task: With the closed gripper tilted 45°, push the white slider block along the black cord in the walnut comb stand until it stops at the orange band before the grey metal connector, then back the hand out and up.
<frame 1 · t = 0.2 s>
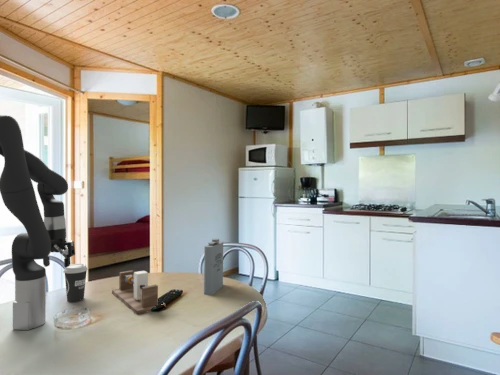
hand: (57, 266, 132), 18 cm above the table, tool pointing down, fingers open, 8 cm apart
cord stand: (137, 299, 144), on the table
white slider block: (140, 285, 141), point 8 cm above the table, slide at 0.0 cm
flask: (214, 289, 160), on the table
coffee cup: (75, 300, 144), on the table
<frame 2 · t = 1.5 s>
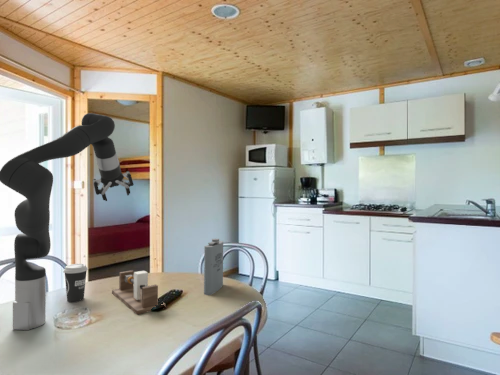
hand: (117, 197, 133), 46 cm above the table, tool tilted 40°, fingers open, 8 cm apart
nothing on the table moved.
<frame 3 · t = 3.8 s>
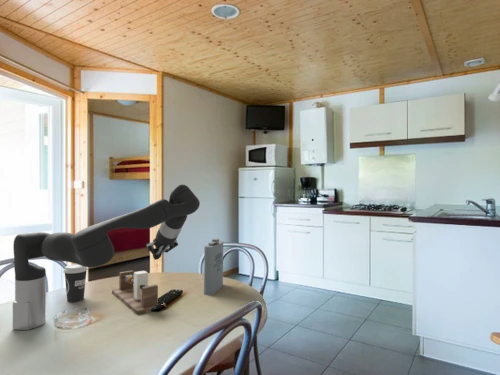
hand: (155, 257, 130), 22 cm above the table, tool tilted 45°, fingers closed
nothing on the table moved.
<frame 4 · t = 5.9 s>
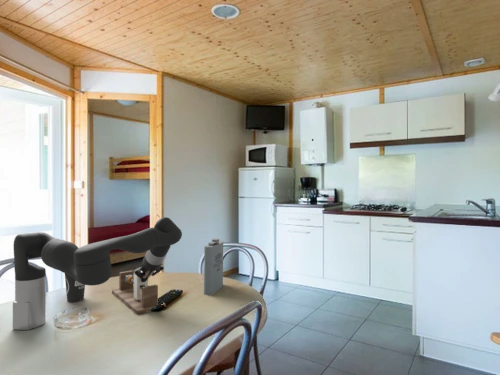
hand: (143, 280, 139), 10 cm above the table, tool tilted 45°, fingers closed
white slider block: (140, 285, 141), point 8 cm above the table, slide at 0.0 cm, touching gripper
everything else where it was.
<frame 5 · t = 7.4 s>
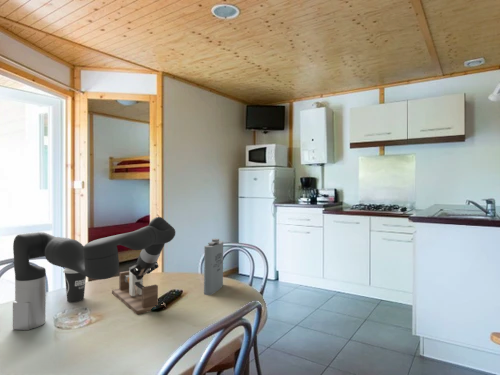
hand: (138, 277, 144), 10 cm above the table, tool tilted 45°, fingers closed
white slider block: (135, 281, 146), point 8 cm above the table, slide at 5.7 cm, touching gripper
everything else where it was.
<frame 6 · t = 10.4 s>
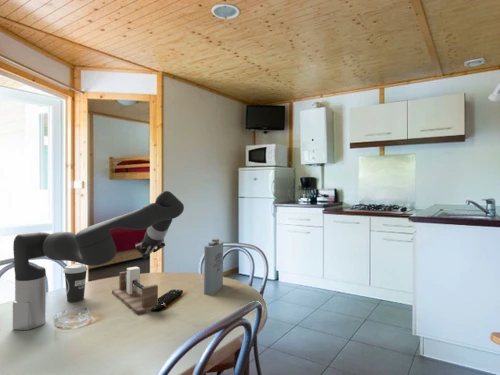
hand: (144, 256, 139), 20 cm above the table, tool tilted 45°, fingers closed
white slider block: (133, 280, 148), point 8 cm above the table, slide at 9.0 cm
everything else where it was.
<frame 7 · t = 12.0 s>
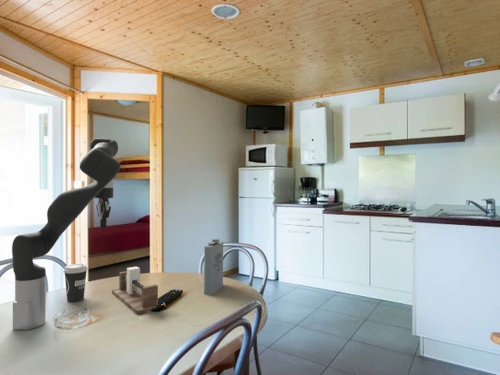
hand: (103, 227, 136), 33 cm above the table, tool pointing down, fingers closed
nothing on the table moved.
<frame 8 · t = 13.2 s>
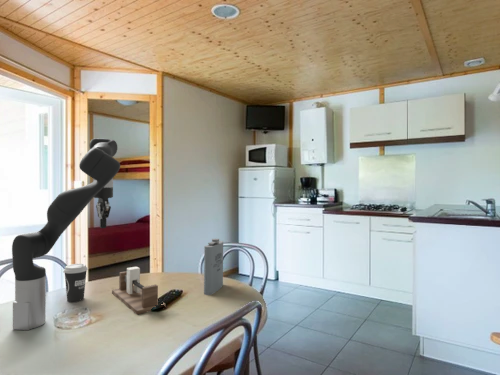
hand: (103, 227, 136), 33 cm above the table, tool pointing down, fingers closed
nothing on the table moved.
at the end: white slider block slide at 9.0 cm; the gripper is holding nothing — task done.
